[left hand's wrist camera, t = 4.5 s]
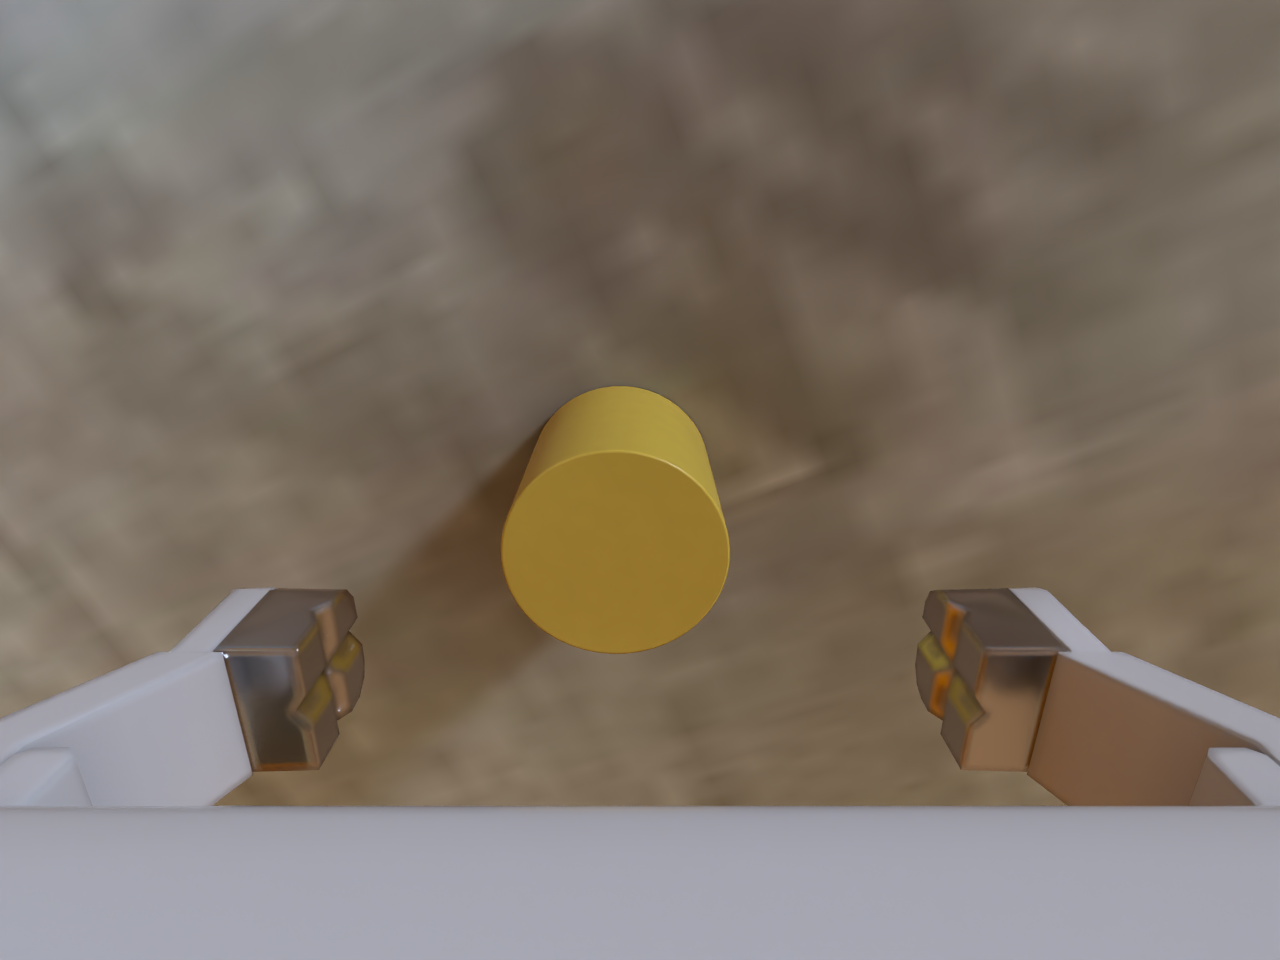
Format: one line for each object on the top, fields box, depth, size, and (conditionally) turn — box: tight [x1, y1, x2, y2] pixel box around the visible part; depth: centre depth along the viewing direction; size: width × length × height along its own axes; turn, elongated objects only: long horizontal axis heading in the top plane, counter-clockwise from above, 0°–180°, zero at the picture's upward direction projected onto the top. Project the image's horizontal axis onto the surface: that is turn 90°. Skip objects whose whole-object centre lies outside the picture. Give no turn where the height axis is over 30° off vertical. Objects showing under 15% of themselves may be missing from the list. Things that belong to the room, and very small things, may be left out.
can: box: [501, 386, 730, 654], centre depth 14 cm, size 4×4×4 cm
